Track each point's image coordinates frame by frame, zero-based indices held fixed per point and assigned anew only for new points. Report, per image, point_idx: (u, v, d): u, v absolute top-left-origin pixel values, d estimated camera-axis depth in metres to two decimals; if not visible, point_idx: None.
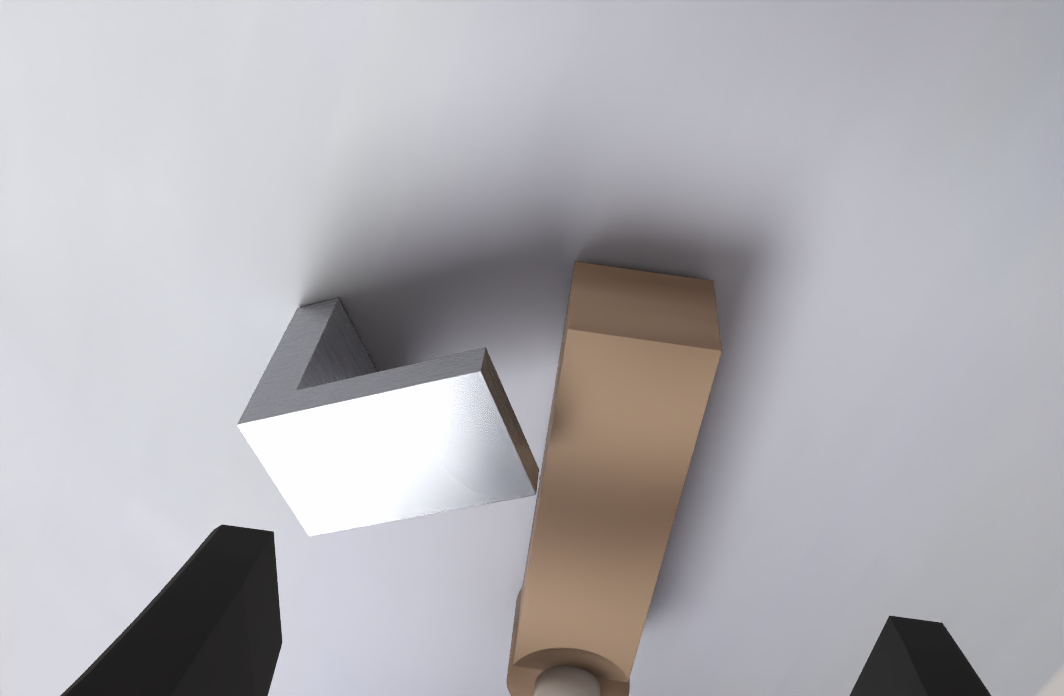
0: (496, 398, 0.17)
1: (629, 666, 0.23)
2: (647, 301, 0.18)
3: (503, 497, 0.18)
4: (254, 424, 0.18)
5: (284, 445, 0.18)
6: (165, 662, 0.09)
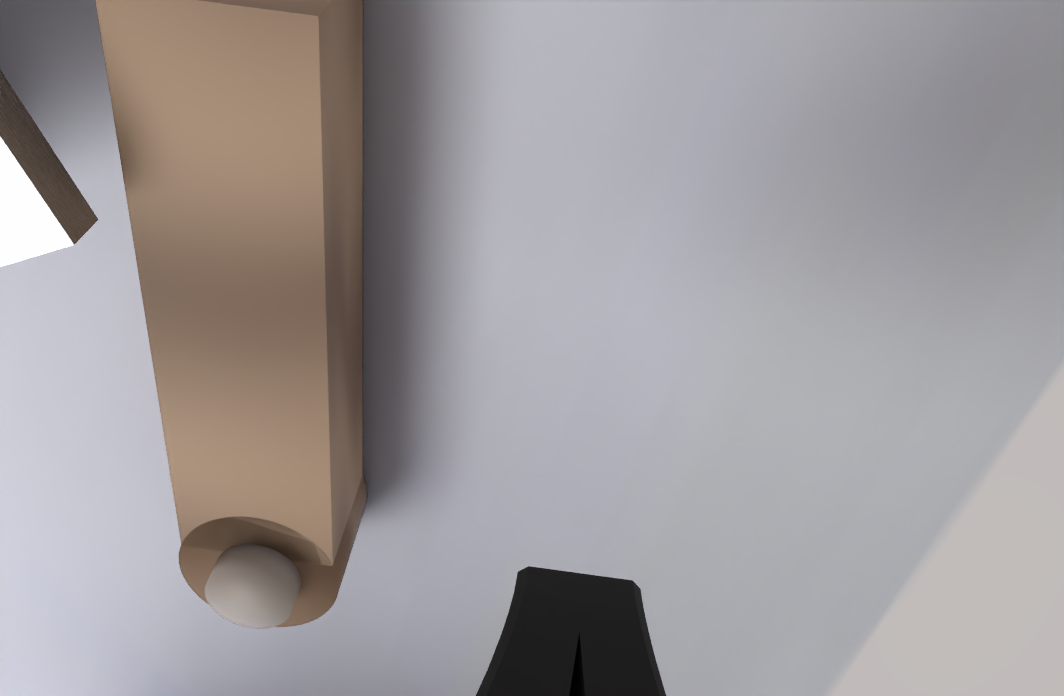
0: None
1: (328, 542, 0.17)
2: None
3: (36, 253, 0.13)
4: None
5: None
6: None
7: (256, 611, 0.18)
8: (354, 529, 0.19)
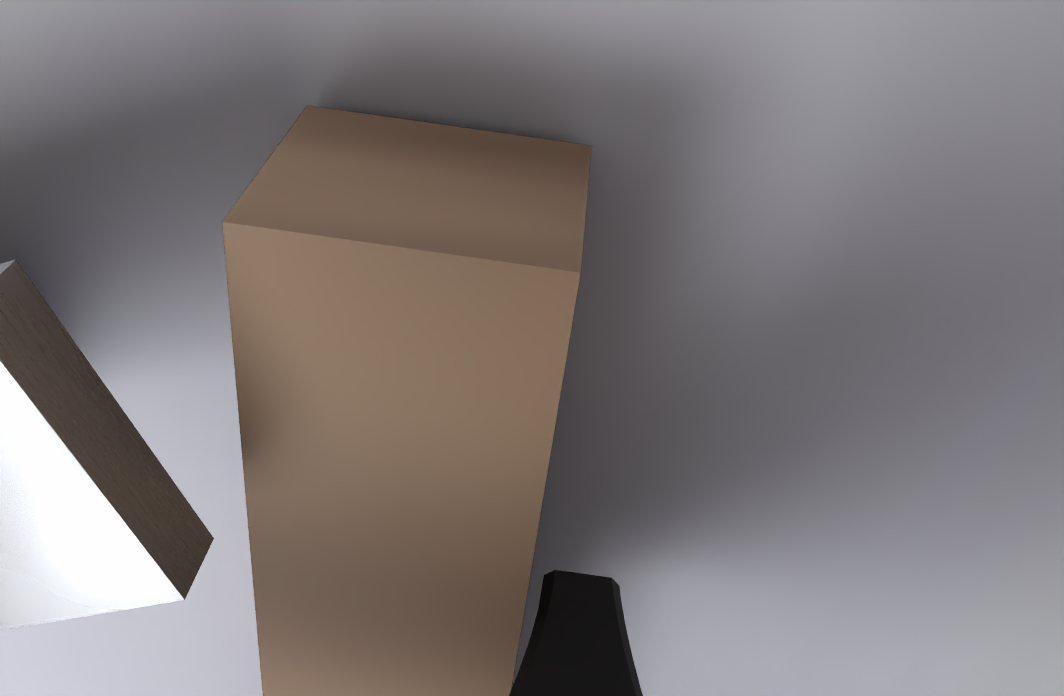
0: (38, 382, 0.07)
1: None
2: (436, 175, 0.09)
3: (122, 602, 0.08)
4: None
5: None
6: None
7: None
8: None
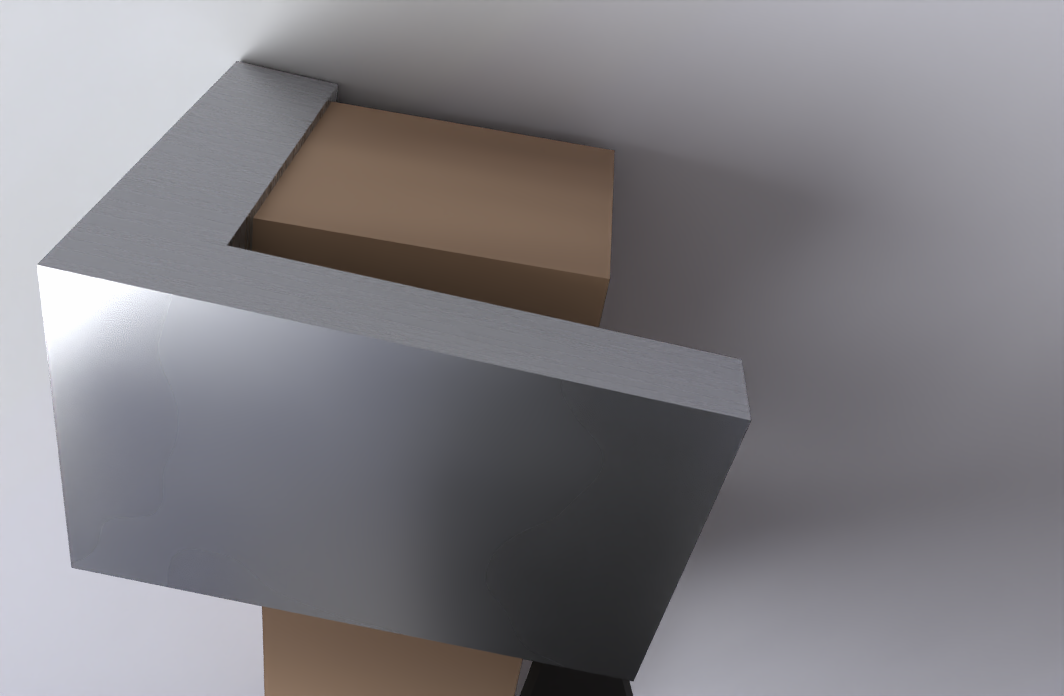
0: None
1: None
2: (463, 176, 0.08)
3: (558, 656, 0.08)
4: (85, 284, 0.06)
5: (138, 367, 0.07)
6: None
7: None
8: None
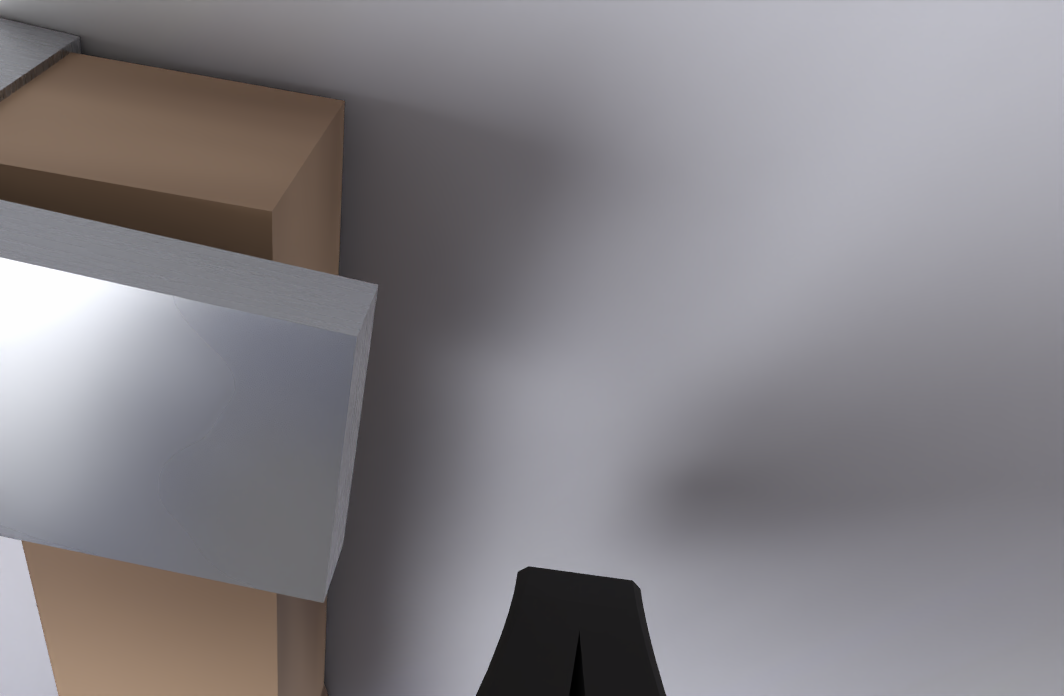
0: (352, 401, 0.07)
1: None
2: (170, 120, 0.09)
3: (253, 579, 0.09)
4: None
5: None
6: None
7: None
8: None
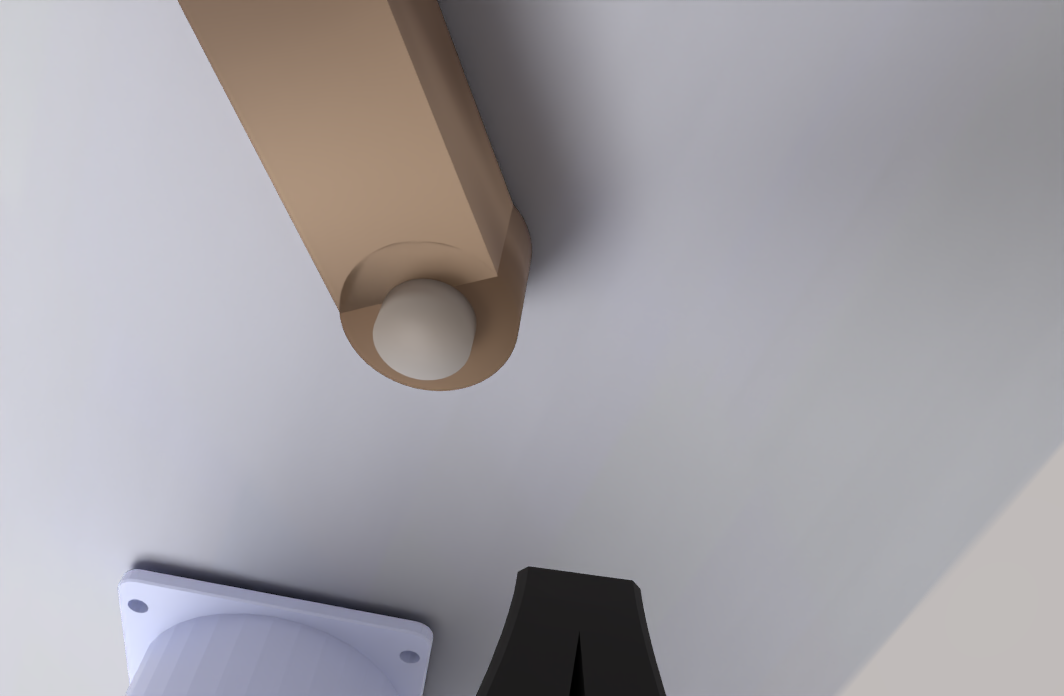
0: None
1: (480, 244, 0.15)
2: None
3: None
4: None
5: None
6: None
7: (436, 354, 0.16)
8: (519, 253, 0.17)
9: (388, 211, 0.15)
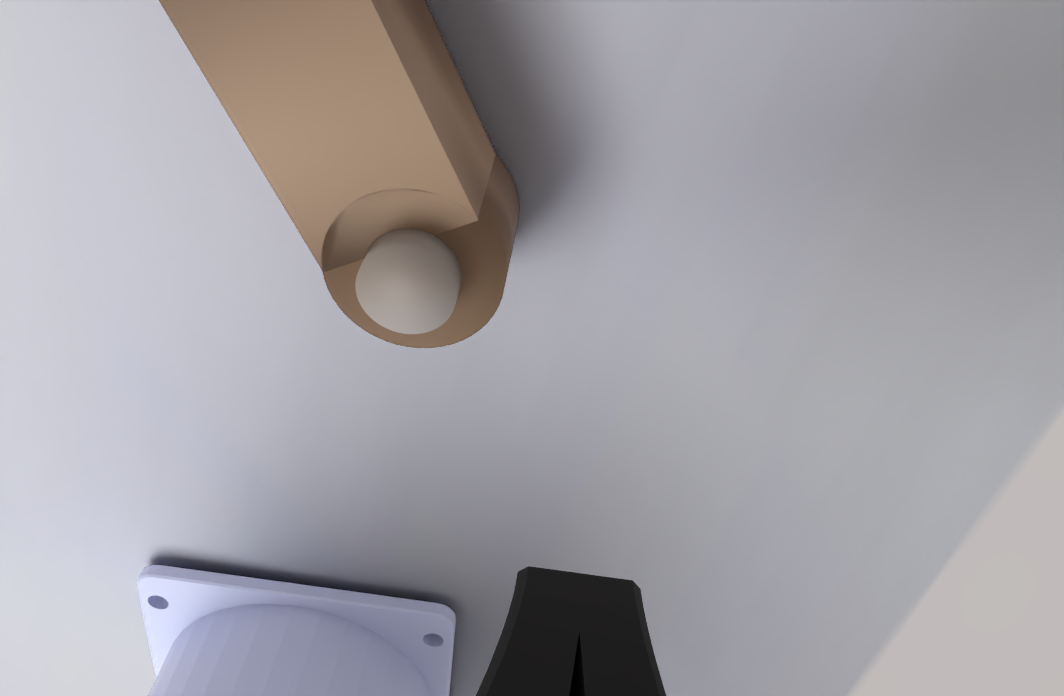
0: None
1: (457, 187, 0.15)
2: None
3: None
4: None
5: None
6: None
7: (421, 305, 0.15)
8: (502, 201, 0.16)
9: (361, 159, 0.15)
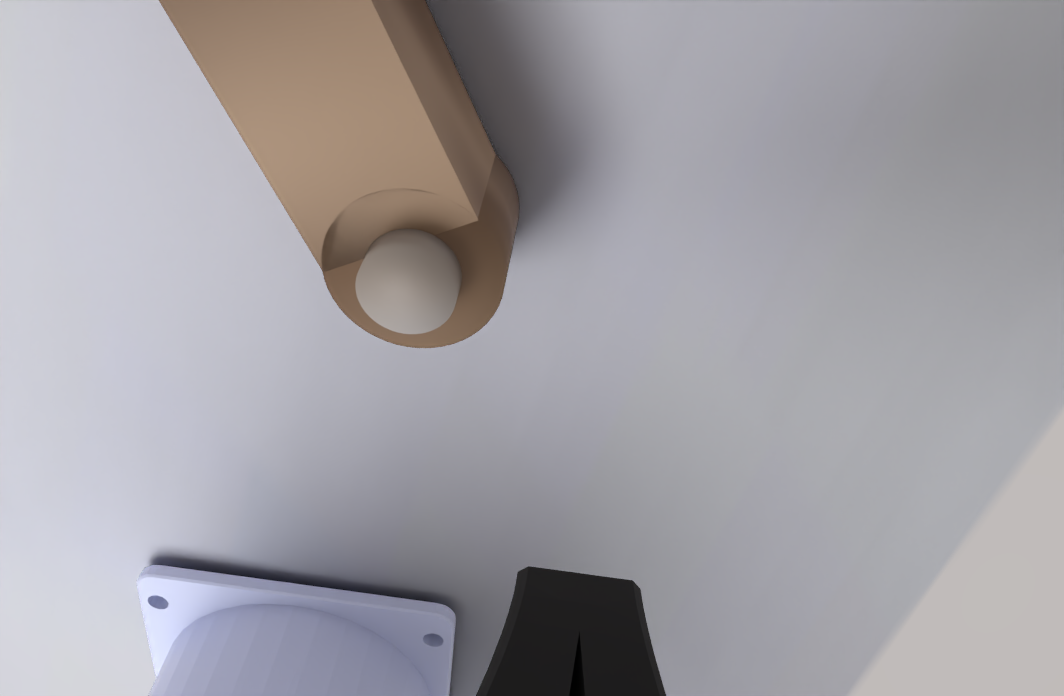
0: None
1: (457, 187, 0.15)
2: None
3: None
4: None
5: None
6: None
7: (421, 305, 0.15)
8: (502, 201, 0.16)
9: (361, 159, 0.15)
